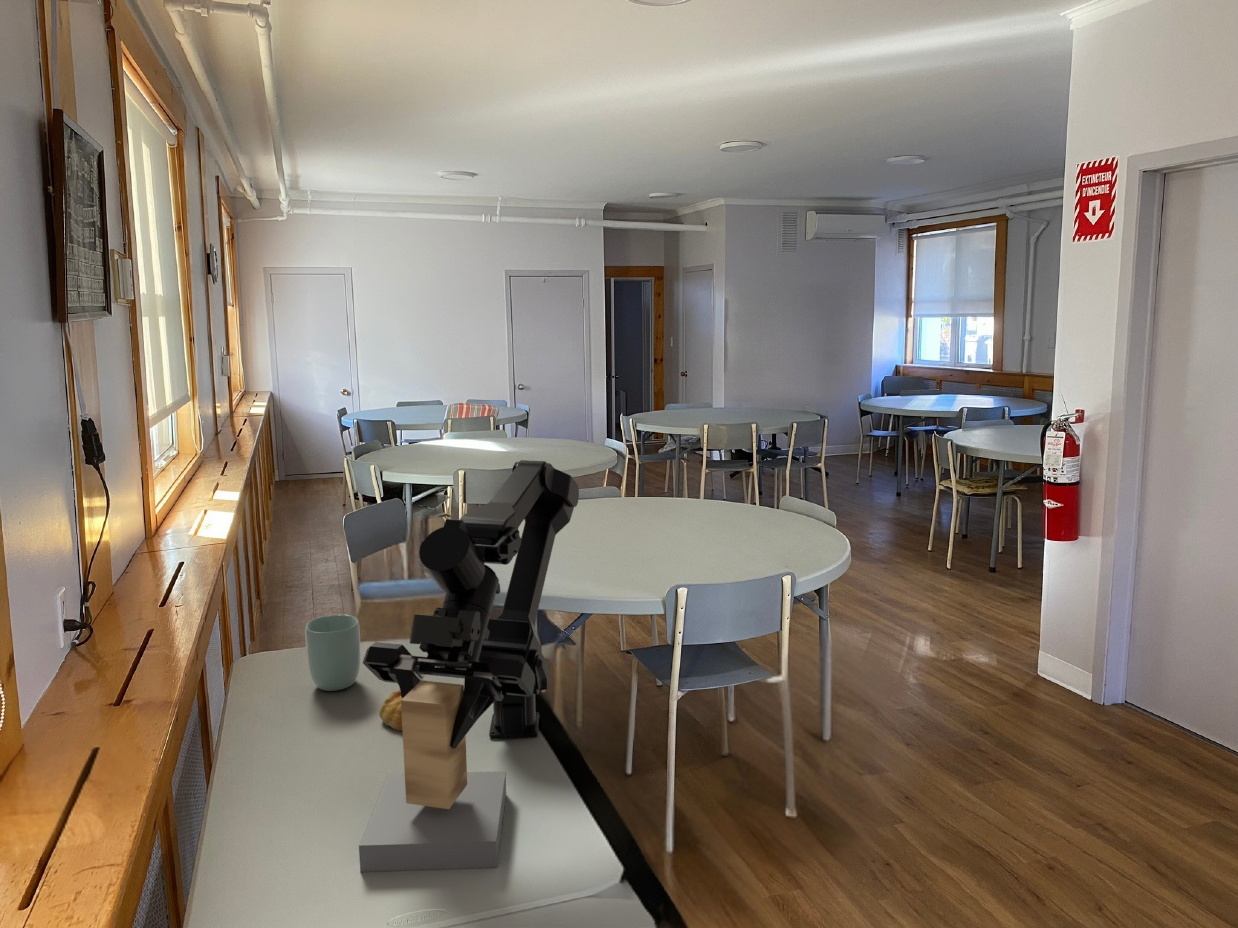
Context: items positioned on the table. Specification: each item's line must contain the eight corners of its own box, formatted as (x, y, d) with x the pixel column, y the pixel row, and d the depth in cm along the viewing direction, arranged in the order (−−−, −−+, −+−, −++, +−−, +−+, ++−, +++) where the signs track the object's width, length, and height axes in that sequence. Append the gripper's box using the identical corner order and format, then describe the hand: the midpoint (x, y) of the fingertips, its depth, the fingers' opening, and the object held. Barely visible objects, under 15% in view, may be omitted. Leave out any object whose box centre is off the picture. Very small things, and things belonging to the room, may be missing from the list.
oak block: (426, 779, 103) (421, 680, 101) (467, 784, 102) (463, 684, 100) (406, 803, 98) (400, 699, 96) (449, 808, 97) (444, 704, 95)
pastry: (457, 722, 127) (456, 697, 126) (423, 742, 121) (422, 716, 120) (409, 706, 131) (407, 681, 131) (373, 725, 126) (372, 699, 125)
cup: (308, 679, 140) (303, 617, 138) (360, 671, 143) (356, 611, 141) (310, 699, 133) (305, 635, 131) (364, 691, 136) (361, 628, 134)
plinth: (387, 797, 107) (386, 774, 107) (506, 794, 108) (505, 771, 107) (360, 871, 94) (358, 845, 93) (496, 867, 94) (496, 841, 94)
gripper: (366, 574, 101) (318, 710, 93) (524, 586, 97) (490, 729, 89) (401, 616, 110) (361, 743, 102) (548, 629, 106) (519, 762, 98)
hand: (429, 744), depth 97 cm, fingers closed on oak block, 5 cm apart
